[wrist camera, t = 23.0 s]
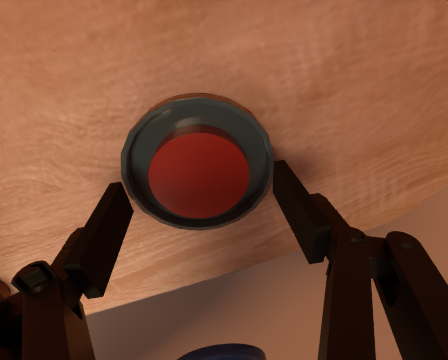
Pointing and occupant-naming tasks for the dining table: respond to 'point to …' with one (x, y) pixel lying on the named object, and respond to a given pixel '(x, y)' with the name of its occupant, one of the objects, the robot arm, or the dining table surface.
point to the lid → (198, 171)
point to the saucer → (193, 115)
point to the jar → (4, 289)
